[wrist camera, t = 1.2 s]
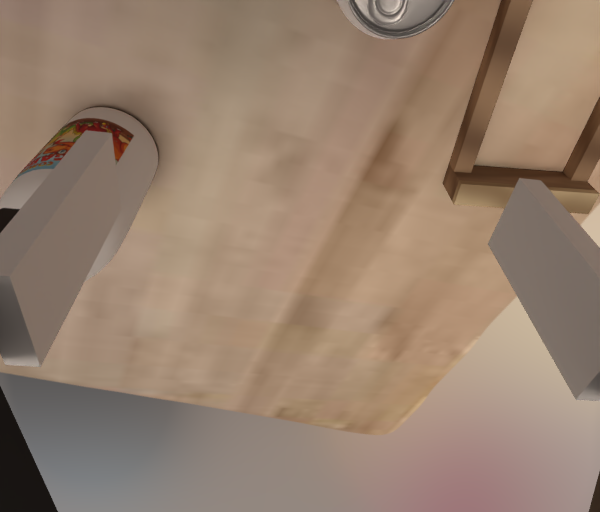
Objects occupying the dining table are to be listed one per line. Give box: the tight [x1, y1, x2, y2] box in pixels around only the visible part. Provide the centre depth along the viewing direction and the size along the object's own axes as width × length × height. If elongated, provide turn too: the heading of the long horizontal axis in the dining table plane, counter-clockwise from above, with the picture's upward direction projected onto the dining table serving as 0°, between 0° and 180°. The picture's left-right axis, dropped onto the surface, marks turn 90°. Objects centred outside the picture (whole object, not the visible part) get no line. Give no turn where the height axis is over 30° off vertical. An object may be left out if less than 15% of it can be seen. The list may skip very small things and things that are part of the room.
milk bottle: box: [0, 107, 158, 282], centre depth 31 cm, size 8×8×20 cm
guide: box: [443, 0, 600, 214], centre depth 34 cm, size 24×12×4 cm, turn 175°
